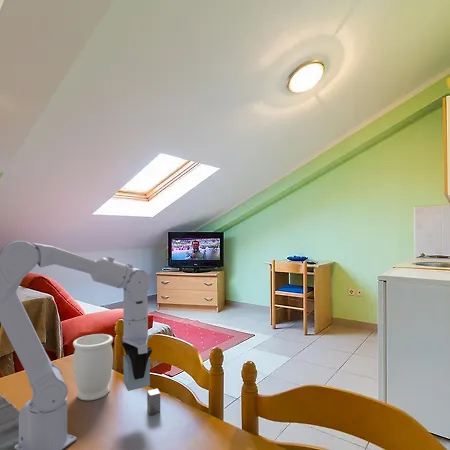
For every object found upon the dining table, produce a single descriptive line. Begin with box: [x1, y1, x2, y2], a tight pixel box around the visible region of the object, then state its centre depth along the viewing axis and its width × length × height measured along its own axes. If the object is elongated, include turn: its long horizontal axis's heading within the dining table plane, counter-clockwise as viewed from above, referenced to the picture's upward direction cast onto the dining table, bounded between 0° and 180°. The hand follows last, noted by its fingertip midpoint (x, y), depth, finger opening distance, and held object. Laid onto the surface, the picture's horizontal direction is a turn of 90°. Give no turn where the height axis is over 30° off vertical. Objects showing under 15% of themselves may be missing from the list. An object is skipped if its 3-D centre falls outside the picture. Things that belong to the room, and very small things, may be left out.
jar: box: [72, 333, 114, 401], centre depth 92 cm, size 11×10×15 cm
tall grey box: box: [122, 354, 151, 392], centre depth 81 cm, size 5×5×7 cm
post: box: [146, 388, 161, 417], centre depth 83 cm, size 3×3×5 cm
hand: (136, 373), depth 81 cm, fingers closed on tall grey box, 5 cm apart
